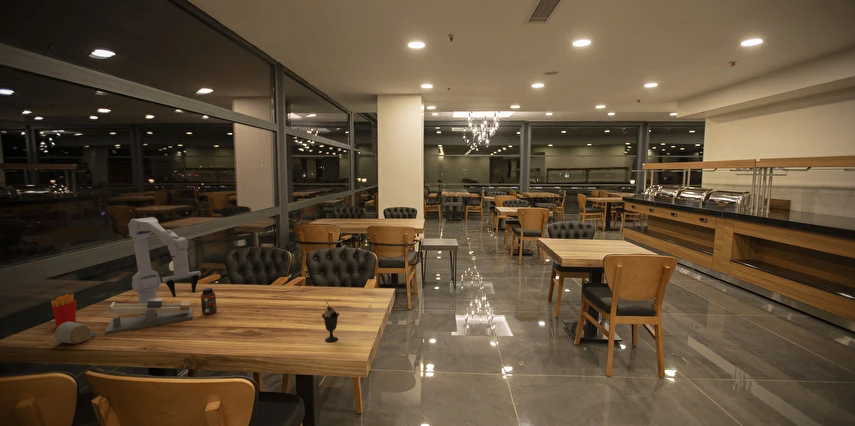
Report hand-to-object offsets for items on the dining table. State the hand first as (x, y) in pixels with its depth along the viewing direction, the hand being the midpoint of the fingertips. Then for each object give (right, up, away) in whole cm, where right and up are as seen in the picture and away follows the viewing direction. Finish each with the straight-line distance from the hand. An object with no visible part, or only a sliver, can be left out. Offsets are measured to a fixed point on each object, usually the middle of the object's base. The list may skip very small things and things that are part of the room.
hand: (184, 294), depth 168 cm
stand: (-11, -11, -4) cm, 16 cm away
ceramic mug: (-26, -13, -23) cm, 38 cm away
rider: (-11, -5, -4) cm, 13 cm away
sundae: (+73, -13, -23) cm, 77 cm away
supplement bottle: (+8, -10, +6) cm, 14 cm away
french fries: (-45, -12, -9) cm, 47 cm away
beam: (-12, -7, -4) cm, 14 cm away
